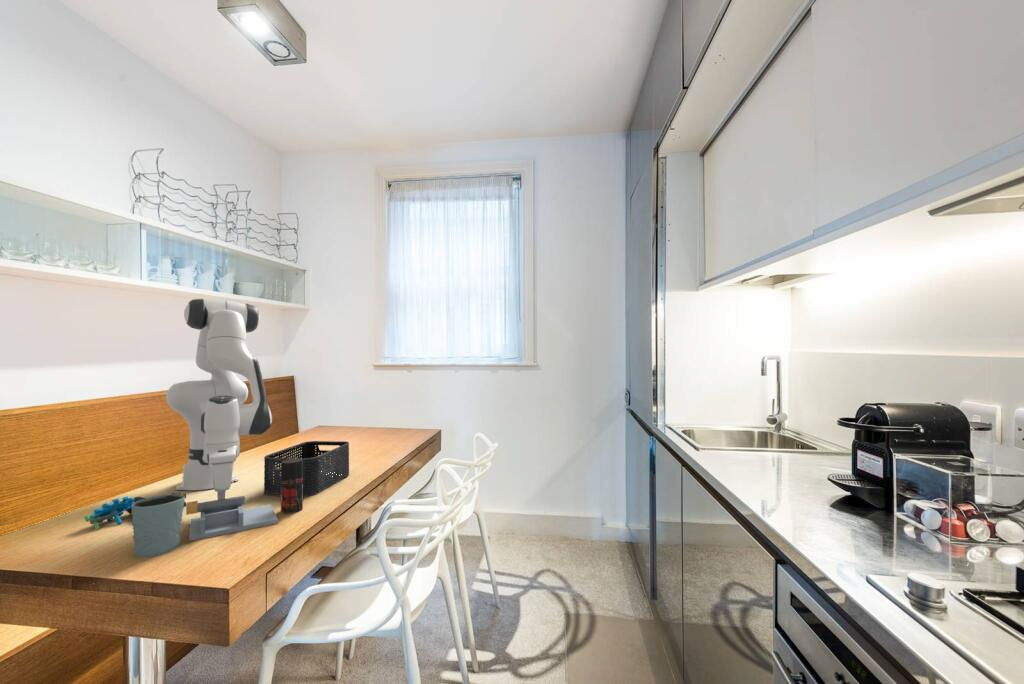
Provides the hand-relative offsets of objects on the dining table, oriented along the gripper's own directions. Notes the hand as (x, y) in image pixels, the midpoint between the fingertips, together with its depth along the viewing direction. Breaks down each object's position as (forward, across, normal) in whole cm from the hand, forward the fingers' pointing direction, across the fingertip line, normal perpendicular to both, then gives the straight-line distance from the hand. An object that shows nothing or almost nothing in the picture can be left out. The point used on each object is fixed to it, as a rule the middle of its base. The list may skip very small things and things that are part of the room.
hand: (221, 499), depth 126 cm
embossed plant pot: (+6, +16, -13) cm, 21 cm away
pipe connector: (+6, -17, -15) cm, 23 cm away
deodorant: (+6, +5, +18) cm, 20 cm away
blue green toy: (+6, -15, -26) cm, 30 cm away
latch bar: (+1, +6, -1) cm, 6 cm away
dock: (+6, +7, +3) cm, 9 cm away
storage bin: (+6, -22, +28) cm, 36 cm away
